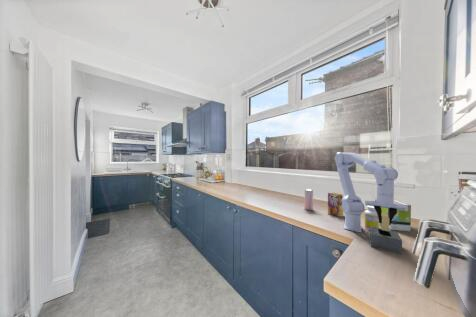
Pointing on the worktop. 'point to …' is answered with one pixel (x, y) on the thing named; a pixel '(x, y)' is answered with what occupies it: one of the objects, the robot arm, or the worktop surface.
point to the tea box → (399, 217)
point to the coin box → (385, 240)
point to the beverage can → (308, 199)
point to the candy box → (335, 204)
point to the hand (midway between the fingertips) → (384, 223)
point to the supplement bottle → (371, 218)
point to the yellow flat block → (384, 222)
